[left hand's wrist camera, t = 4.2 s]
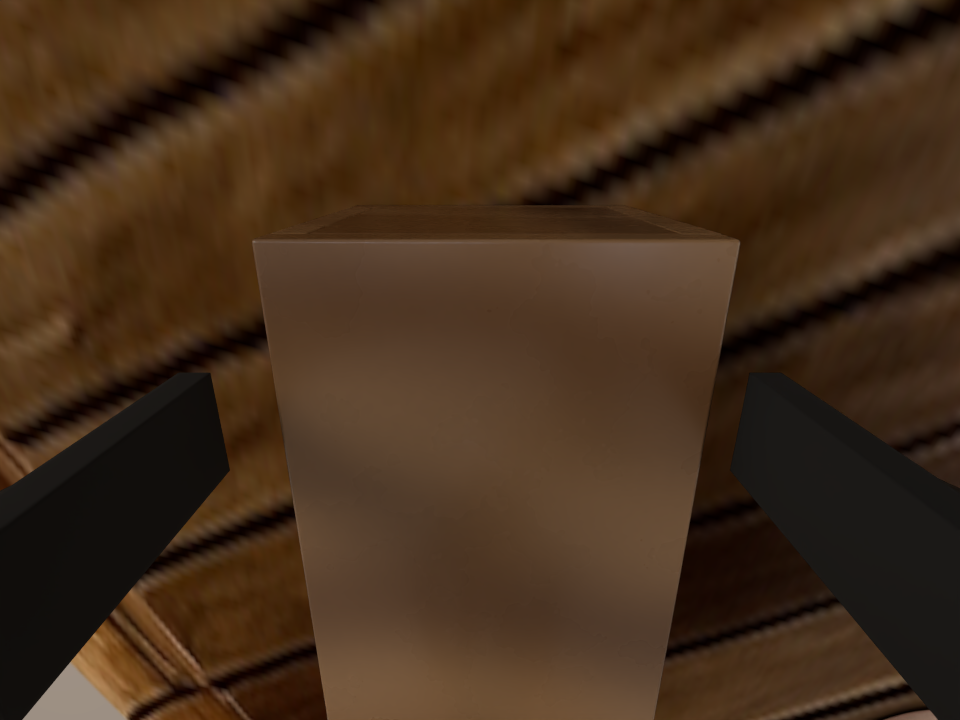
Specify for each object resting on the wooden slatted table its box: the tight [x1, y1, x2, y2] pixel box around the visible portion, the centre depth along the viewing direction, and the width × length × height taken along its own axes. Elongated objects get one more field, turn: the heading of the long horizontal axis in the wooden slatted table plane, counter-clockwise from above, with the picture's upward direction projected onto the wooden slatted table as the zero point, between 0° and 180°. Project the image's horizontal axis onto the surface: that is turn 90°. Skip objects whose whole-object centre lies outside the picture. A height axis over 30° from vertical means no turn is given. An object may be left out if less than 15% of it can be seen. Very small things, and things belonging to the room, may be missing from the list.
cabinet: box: [252, 205, 740, 720], centre depth 19 cm, size 22×10×10 cm, turn 0°
